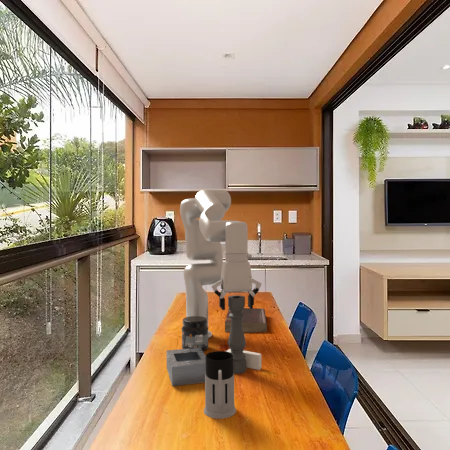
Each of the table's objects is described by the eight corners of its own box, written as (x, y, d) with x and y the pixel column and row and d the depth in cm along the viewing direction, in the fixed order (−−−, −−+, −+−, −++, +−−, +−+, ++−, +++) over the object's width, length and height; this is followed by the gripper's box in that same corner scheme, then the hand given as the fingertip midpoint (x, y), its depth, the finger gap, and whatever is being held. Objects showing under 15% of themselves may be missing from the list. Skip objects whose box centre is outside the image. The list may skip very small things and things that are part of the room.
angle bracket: (208, 364, 146) (207, 350, 145) (253, 359, 150) (253, 346, 150) (214, 374, 136) (214, 359, 136) (262, 369, 140) (262, 354, 140)
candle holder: (231, 374, 136) (230, 299, 135) (225, 367, 142) (225, 295, 141) (248, 372, 138) (248, 298, 137) (242, 365, 144) (242, 294, 143)
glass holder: (235, 402, 116) (234, 349, 115) (238, 429, 101) (237, 368, 101) (204, 403, 115) (203, 350, 115) (202, 430, 101) (202, 369, 101)
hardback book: (266, 333, 184) (266, 322, 184) (225, 333, 186) (224, 322, 185) (265, 317, 213) (264, 307, 213) (228, 317, 214) (228, 307, 214)
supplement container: (192, 343, 170) (191, 314, 169) (213, 347, 164) (213, 317, 164) (176, 350, 161) (175, 320, 160) (198, 355, 155) (198, 323, 155)
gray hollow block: (166, 367, 143) (166, 350, 143) (200, 364, 146) (200, 347, 146) (172, 386, 127) (171, 366, 127) (210, 381, 130) (209, 363, 130)
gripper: (257, 256, 144) (257, 304, 145) (209, 257, 140) (209, 307, 141) (264, 258, 137) (264, 309, 138) (213, 260, 133) (214, 312, 134)
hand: (236, 308), depth 139 cm, fingers open, 9 cm apart
